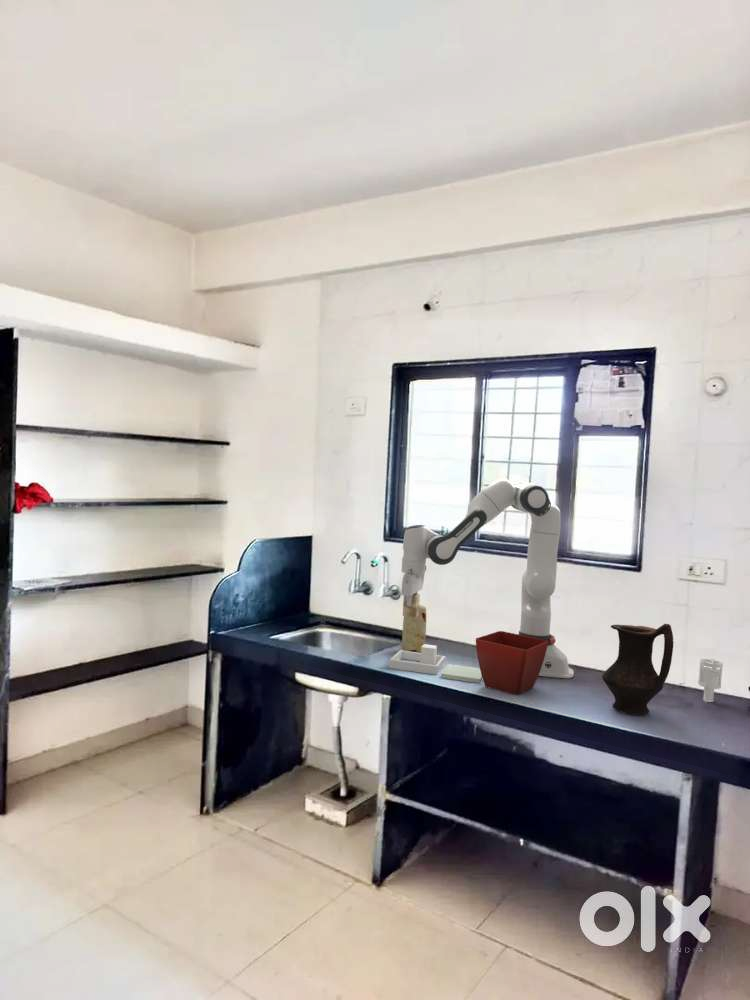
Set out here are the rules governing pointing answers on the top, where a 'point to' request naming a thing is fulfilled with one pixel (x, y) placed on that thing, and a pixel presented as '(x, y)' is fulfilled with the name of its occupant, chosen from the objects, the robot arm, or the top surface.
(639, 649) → the jug
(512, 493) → the robot arm
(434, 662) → the plain white box
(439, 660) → the shallow white tray
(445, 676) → the sage board
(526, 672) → the plant pot
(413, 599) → the labelled oak box
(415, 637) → the food model
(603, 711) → the top surface
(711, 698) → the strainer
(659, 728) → the top surface
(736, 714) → the top surface
